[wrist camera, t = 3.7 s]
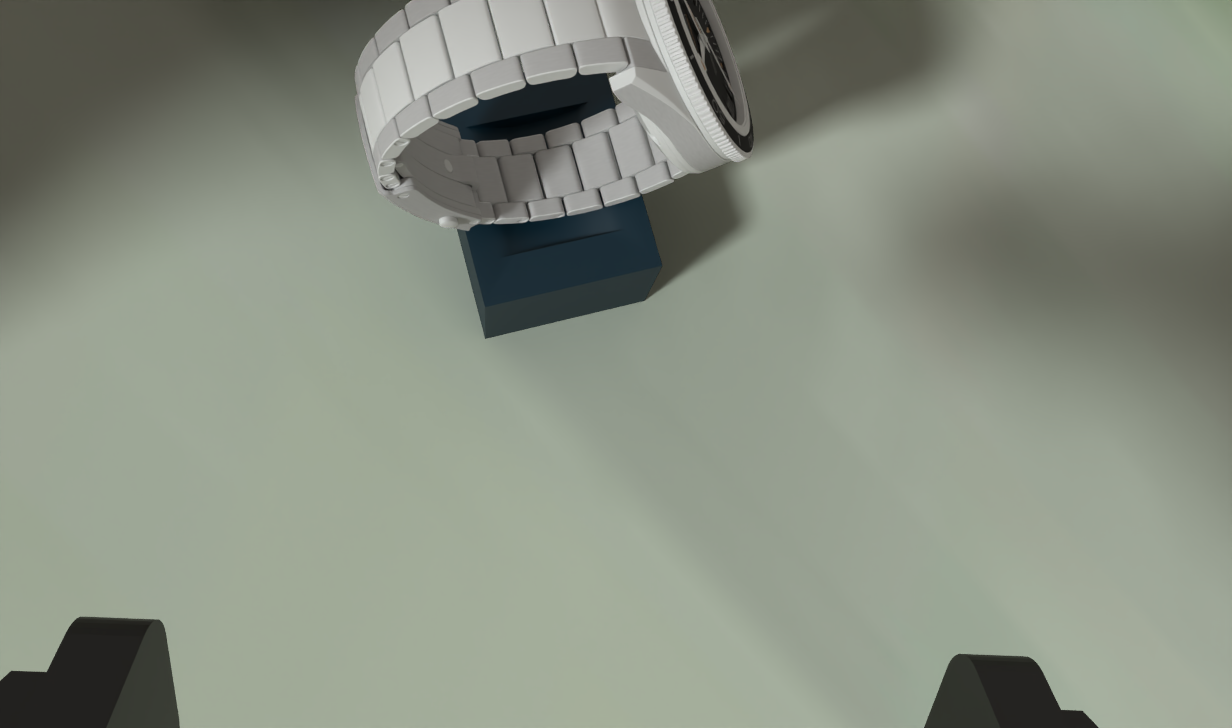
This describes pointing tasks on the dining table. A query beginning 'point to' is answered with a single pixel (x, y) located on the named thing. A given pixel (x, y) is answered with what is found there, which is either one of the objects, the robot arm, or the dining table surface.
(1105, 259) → the dining table surface
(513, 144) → the watch
